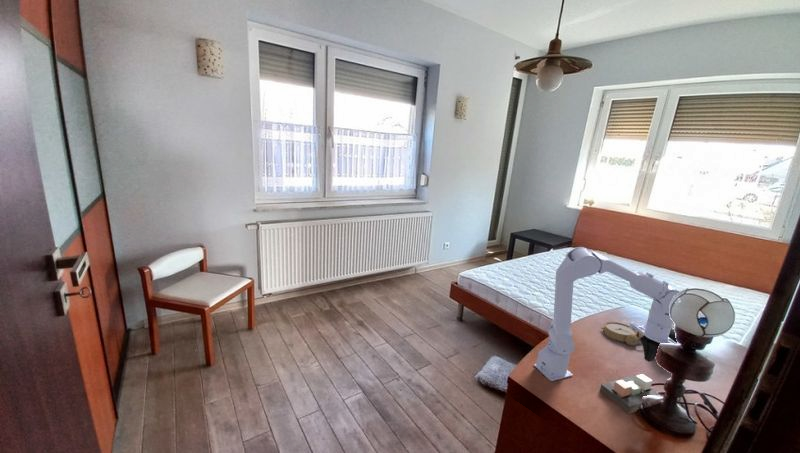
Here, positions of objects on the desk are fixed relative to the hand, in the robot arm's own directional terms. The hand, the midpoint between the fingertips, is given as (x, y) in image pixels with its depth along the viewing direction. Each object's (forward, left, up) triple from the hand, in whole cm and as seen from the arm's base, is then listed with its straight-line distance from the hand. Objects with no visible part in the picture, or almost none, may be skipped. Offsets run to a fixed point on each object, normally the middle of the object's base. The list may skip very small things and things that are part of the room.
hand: (648, 359), depth 97 cm
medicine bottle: (+24, +8, -11) cm, 27 cm away
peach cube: (-13, -2, -7) cm, 15 cm away
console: (-8, -2, -10) cm, 13 cm away
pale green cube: (-8, -2, -9) cm, 12 cm away
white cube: (-4, -2, -7) cm, 8 cm away
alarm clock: (+22, +22, -11) cm, 33 cm away
